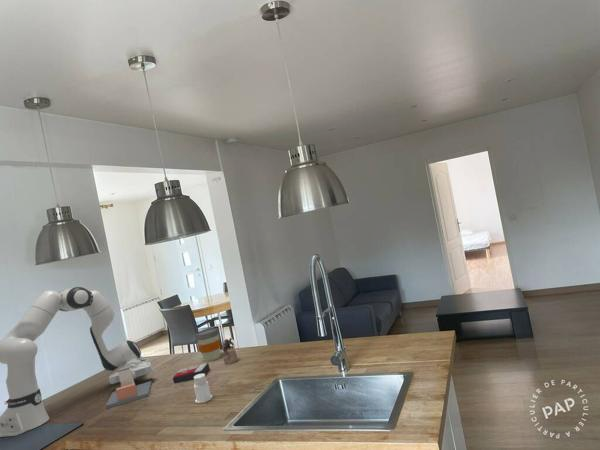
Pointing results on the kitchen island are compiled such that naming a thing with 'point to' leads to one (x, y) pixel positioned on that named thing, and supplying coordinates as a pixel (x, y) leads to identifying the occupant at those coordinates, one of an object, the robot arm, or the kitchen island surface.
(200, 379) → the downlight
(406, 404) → the kitchen island surface
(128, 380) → the beige rectangular block
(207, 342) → the reusable coffee cup
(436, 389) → the kitchen island surface
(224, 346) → the figurine
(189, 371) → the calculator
